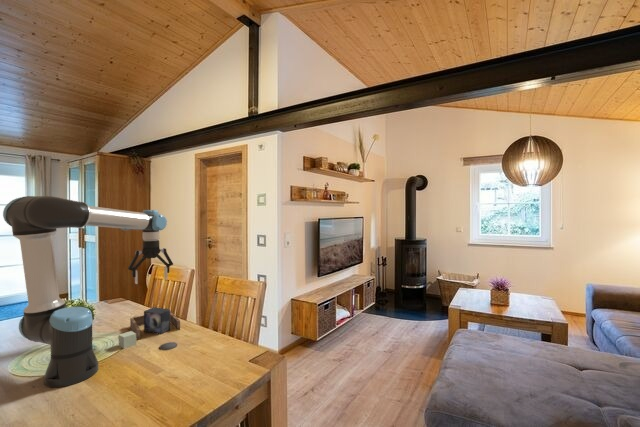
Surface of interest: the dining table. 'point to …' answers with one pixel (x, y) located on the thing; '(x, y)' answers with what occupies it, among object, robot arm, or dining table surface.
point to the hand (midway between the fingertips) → (151, 281)
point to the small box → (157, 320)
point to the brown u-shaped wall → (139, 320)
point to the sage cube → (127, 339)
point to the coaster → (168, 346)
